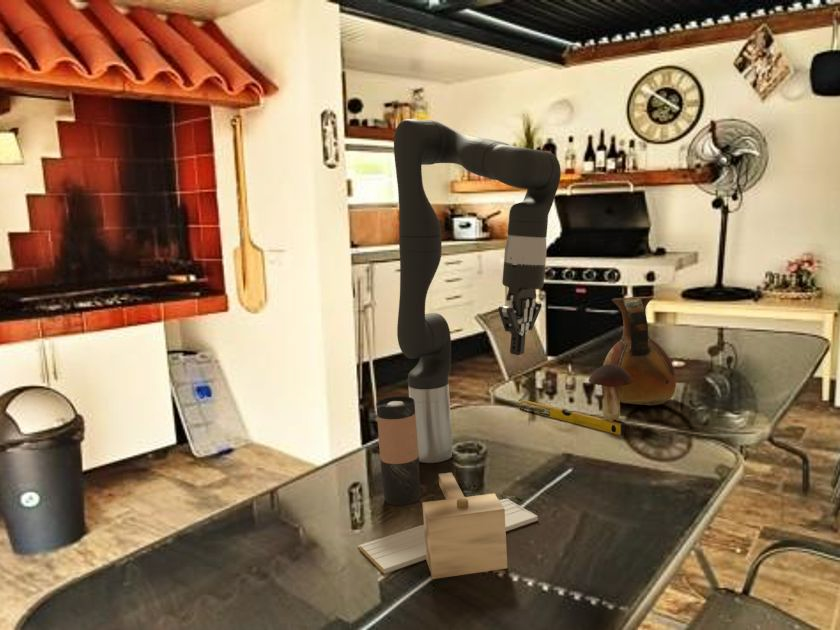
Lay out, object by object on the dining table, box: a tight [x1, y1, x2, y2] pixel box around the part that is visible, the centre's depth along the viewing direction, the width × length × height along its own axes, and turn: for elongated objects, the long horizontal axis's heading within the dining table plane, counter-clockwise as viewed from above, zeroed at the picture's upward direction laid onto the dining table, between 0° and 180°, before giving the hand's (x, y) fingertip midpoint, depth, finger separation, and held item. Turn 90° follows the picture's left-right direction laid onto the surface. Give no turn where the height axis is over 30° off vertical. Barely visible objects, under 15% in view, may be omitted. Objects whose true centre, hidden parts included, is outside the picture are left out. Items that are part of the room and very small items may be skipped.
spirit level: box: [518, 398, 626, 437], centre depth 175 cm, size 33×1×3 cm, turn 39°
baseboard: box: [357, 491, 539, 574], centre depth 119 cm, size 31×3×12 cm
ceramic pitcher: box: [601, 296, 677, 406], centre depth 184 cm, size 20×20×30 cm
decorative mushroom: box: [588, 364, 633, 421], centre depth 171 cm, size 11×11×15 cm
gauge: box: [422, 471, 508, 580], centre depth 113 cm, size 18×12×11 cm, turn 9°
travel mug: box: [375, 395, 421, 507], centre depth 133 cm, size 8×8×20 cm
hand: (516, 354), depth 125 cm, fingers closed
